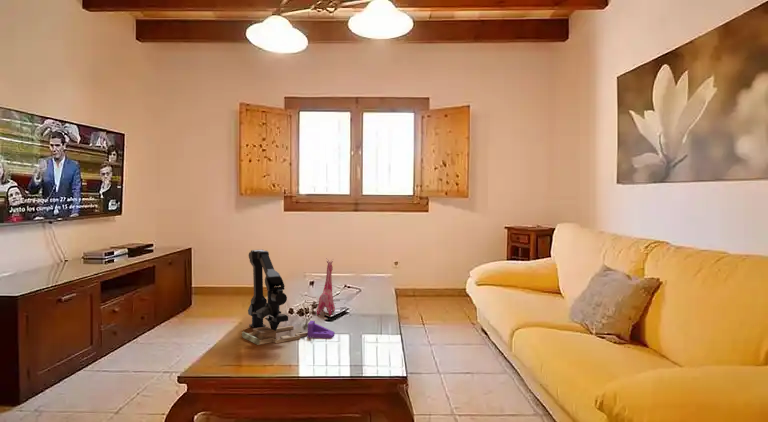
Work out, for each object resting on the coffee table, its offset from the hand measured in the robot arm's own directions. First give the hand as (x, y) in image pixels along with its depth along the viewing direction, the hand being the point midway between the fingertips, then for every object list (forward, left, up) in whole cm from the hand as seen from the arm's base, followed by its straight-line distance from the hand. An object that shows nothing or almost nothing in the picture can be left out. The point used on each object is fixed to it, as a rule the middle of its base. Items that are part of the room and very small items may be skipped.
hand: (273, 332), depth 281 cm
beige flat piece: (+1, +1, -2) cm, 3 cm away
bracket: (+12, +19, -3) cm, 23 cm away
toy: (-29, +49, -2) cm, 57 cm away
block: (0, -5, -2) cm, 5 cm away
